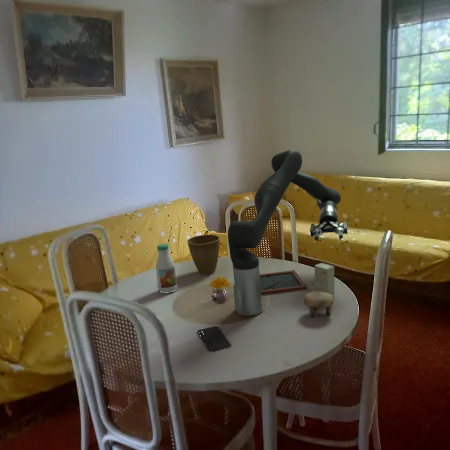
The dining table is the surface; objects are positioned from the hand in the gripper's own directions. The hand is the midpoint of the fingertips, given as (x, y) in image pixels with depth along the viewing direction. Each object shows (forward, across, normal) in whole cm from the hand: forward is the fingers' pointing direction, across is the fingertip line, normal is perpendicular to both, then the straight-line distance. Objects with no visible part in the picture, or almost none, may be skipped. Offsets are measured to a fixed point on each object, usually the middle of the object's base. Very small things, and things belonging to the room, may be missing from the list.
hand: (328, 238), depth 170 cm
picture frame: (+2, -25, +20) cm, 32 cm away
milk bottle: (+9, -67, +15) cm, 69 cm away
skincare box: (+13, -3, +18) cm, 22 cm away
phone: (+47, -37, +7) cm, 60 cm away
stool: (+27, -4, +13) cm, 31 cm away
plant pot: (-12, -57, +22) cm, 62 cm away
